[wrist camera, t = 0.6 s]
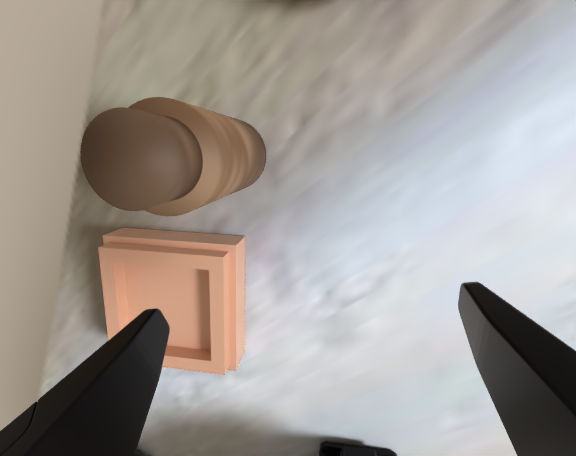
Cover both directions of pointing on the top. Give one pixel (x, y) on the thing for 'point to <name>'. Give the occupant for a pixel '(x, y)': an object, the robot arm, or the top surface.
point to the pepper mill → (169, 156)
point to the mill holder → (179, 292)
